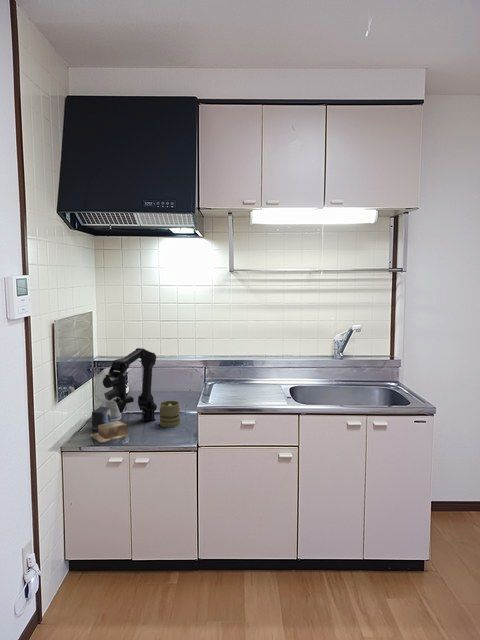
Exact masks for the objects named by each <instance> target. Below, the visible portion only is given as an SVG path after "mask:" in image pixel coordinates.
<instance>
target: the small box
mask: <svg viewBox="0 0 480 640" xmlns="http://www.w3.org/2000/svg"><path fill="white" fill-rule="evenodd" d="M110 422H112V421H111V408H110V407H104V406H100V407H97V408H96V409H94V410H93V411H91V431H96V432H98V425H101V424H106V423H110Z"/></svg>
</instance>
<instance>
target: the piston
mask: <svg viewBox="0 0 480 640" xmlns="http://www.w3.org/2000/svg"><path fill="white" fill-rule="evenodd" d="M180 413H181V407H180V404H179V401H178V400H165V401H164V400H163V401H161V402H160V406H159V426H160V427H163V428H176V427H178V425H179V426H180V425H181V414H180Z"/></svg>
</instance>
